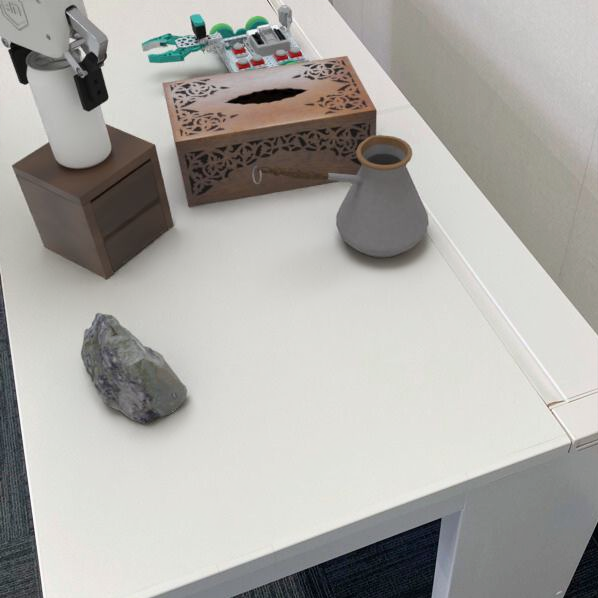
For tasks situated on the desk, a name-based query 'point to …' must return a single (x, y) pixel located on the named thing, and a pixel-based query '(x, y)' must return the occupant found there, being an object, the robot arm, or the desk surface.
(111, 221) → the wooden drawer cube
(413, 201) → the coffee pot
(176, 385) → the mineral rock
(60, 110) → the can
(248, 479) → the desk surface
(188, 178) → the tissue box cover
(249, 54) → the robot kit
